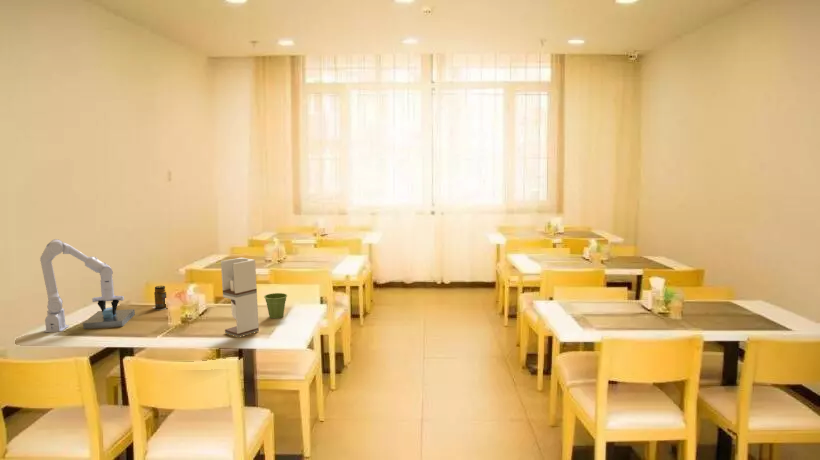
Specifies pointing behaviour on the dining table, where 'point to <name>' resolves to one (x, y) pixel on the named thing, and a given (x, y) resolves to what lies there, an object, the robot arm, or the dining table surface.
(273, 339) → the dining table surface
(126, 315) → the chassis
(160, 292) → the condiment
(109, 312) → the servo
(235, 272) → the espresso maker
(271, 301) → the plant pot
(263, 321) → the dining table surface
